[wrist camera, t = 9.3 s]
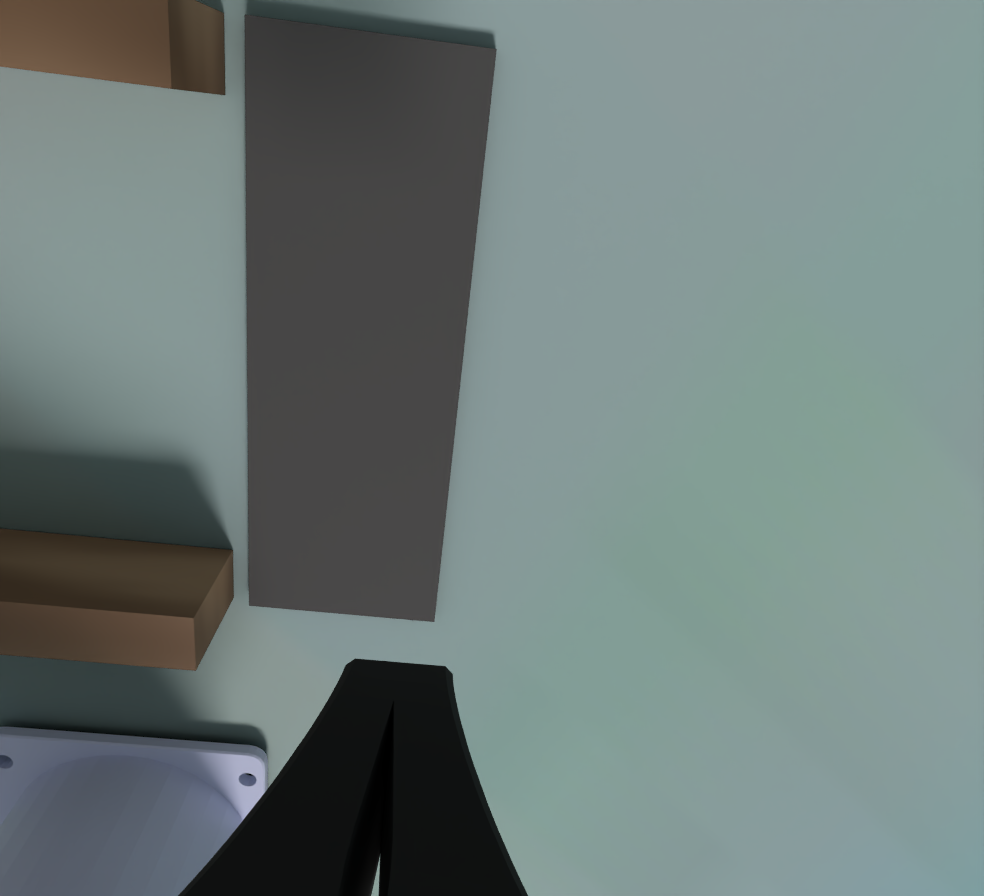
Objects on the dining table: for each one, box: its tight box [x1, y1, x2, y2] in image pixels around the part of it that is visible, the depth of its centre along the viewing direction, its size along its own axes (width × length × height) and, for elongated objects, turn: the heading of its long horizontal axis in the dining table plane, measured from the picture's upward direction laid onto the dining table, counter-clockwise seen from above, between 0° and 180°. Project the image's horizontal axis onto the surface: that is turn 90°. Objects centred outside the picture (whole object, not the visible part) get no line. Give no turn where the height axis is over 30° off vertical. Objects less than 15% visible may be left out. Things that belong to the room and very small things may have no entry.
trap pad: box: [245, 15, 496, 622], centre depth 18 cm, size 14×5×1 cm, turn 173°
